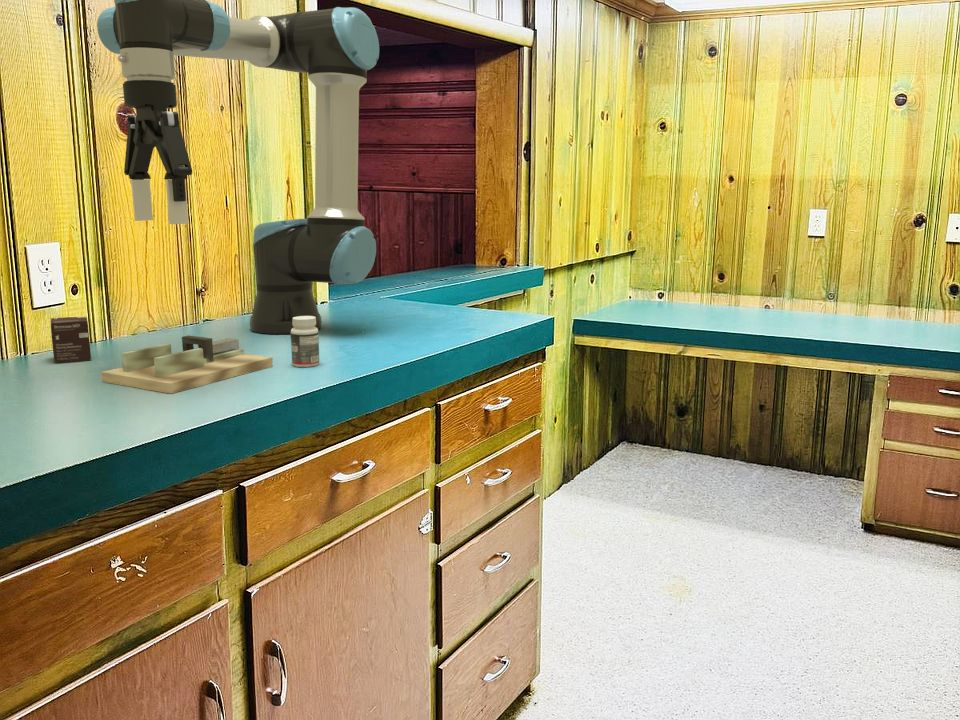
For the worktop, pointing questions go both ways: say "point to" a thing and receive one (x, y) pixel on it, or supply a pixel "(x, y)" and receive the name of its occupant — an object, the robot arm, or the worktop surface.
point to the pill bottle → (304, 342)
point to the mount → (182, 366)
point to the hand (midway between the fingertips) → (160, 222)
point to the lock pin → (224, 345)
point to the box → (70, 339)
